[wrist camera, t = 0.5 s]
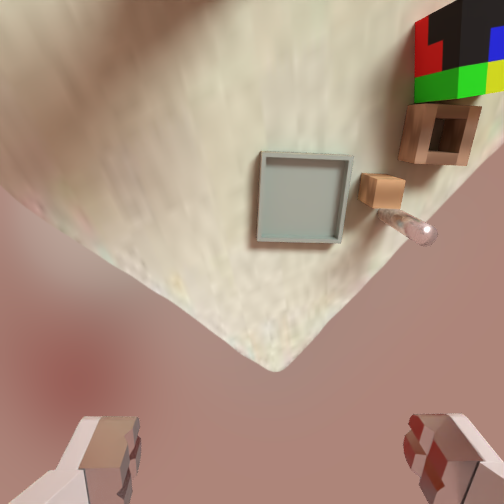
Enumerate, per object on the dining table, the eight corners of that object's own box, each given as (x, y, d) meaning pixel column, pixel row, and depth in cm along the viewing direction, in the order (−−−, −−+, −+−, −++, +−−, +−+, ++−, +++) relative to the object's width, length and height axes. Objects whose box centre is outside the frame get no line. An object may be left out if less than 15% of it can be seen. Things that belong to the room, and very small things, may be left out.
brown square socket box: (407, 105, 49) (426, 103, 44) (458, 108, 50) (482, 106, 45) (397, 159, 52) (414, 163, 47) (445, 161, 52) (466, 165, 48)
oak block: (361, 173, 52) (377, 179, 47) (386, 174, 53) (405, 180, 47) (357, 199, 54) (372, 208, 48) (382, 200, 54) (400, 209, 48)
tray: (260, 151, 50) (262, 152, 48) (348, 154, 51) (353, 156, 49) (256, 236, 55) (257, 241, 53) (337, 238, 56) (341, 243, 54)
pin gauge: (379, 203, 54) (418, 225, 43) (396, 204, 54) (439, 225, 43) (376, 220, 55) (413, 246, 44) (393, 221, 55) (434, 246, 44)
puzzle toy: (488, 10, 46) (555, -19, 36) (482, 91, 49) (541, 84, 40) (415, 22, 46) (462, -4, 36) (413, 103, 49) (457, 98, 40)
